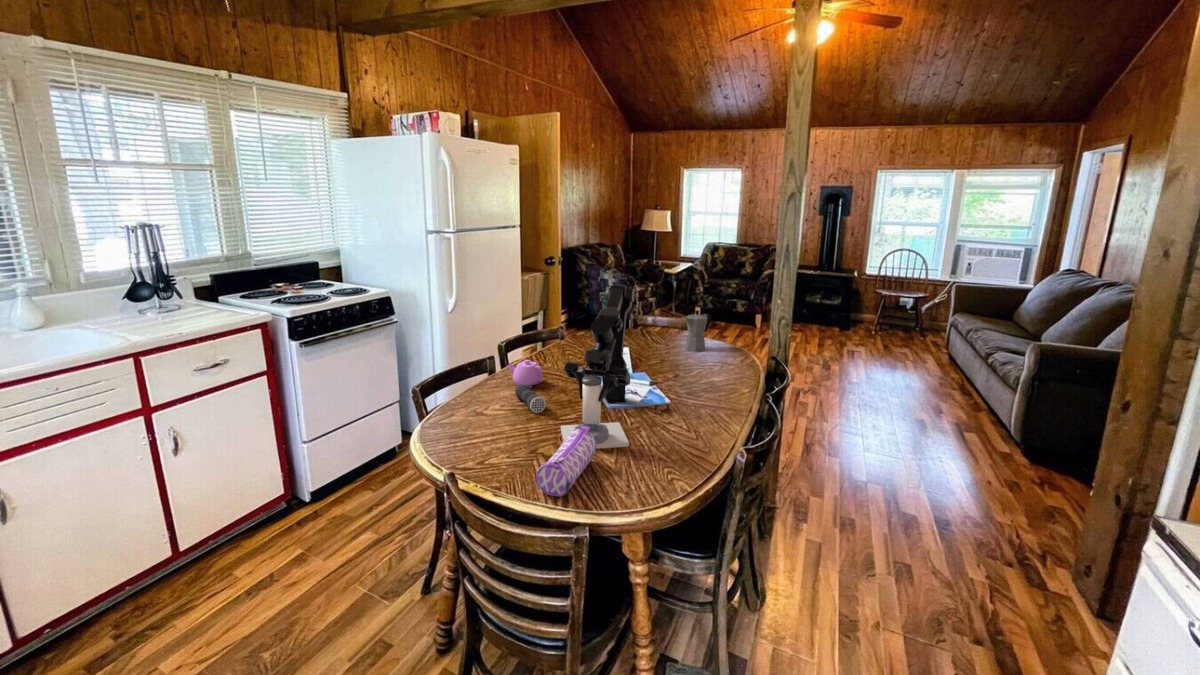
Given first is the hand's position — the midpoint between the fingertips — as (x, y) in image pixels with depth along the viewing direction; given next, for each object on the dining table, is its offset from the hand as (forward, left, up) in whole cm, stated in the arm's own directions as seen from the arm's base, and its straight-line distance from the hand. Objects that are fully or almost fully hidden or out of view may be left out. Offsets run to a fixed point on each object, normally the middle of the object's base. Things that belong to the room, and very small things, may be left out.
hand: (590, 400), depth 154 cm
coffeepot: (-63, -87, -13) cm, 108 cm away
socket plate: (-2, -3, -13) cm, 14 cm away
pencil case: (+8, +18, -13) cm, 24 cm away
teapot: (+16, -51, -13) cm, 55 cm away
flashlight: (+16, -31, -14) cm, 37 cm away
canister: (-1, -1, -7) cm, 7 cm away
